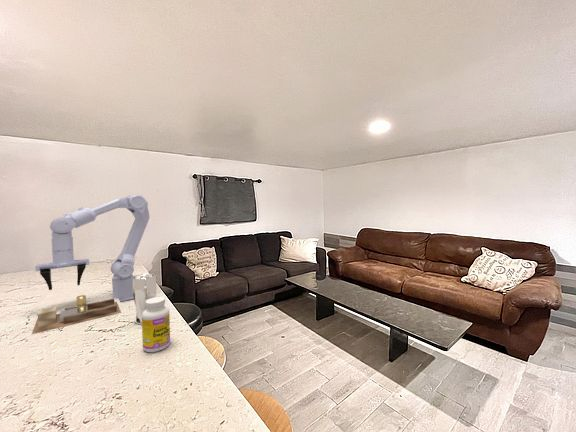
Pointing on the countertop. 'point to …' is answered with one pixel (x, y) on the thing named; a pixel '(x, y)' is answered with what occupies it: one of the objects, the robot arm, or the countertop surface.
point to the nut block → (47, 317)
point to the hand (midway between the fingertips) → (64, 287)
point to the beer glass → (143, 293)
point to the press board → (83, 315)
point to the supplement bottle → (155, 325)
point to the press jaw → (80, 308)
